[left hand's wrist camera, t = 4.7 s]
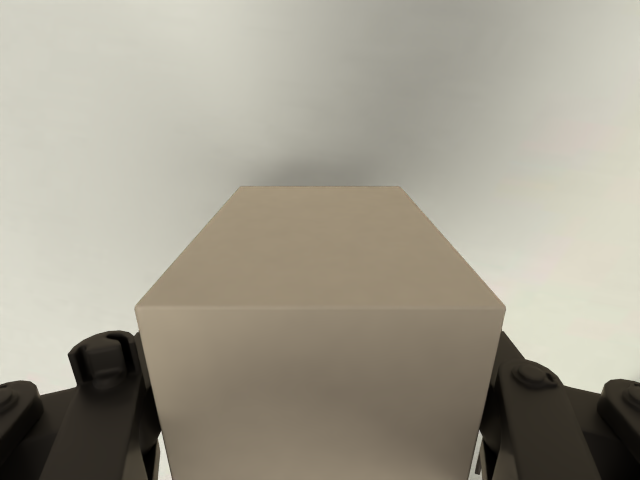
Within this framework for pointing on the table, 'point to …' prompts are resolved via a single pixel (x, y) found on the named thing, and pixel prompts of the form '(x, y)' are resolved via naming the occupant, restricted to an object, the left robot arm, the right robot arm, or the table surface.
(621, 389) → the left robot arm
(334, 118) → the table surface
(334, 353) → the box
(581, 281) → the table surface
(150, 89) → the table surface
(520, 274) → the table surface
